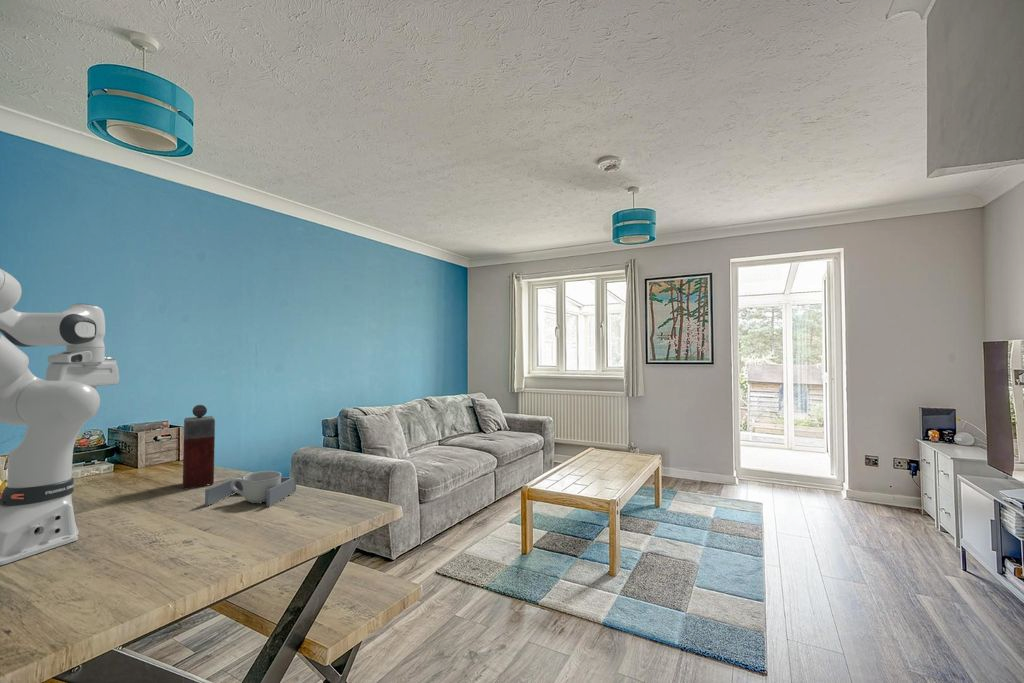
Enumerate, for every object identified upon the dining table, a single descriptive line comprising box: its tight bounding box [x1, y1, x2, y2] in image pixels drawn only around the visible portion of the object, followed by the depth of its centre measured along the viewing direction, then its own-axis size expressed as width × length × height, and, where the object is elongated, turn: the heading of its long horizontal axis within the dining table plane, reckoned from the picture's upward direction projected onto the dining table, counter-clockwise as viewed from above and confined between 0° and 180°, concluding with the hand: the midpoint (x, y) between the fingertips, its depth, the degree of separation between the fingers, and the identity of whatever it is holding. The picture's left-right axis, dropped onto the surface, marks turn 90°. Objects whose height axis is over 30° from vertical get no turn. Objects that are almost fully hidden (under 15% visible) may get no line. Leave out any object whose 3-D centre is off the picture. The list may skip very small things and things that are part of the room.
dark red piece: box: [182, 404, 216, 489], centre depth 164 cm, size 9×11×28 cm
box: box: [204, 476, 297, 507], centre depth 145 cm, size 15×20×5 cm
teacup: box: [230, 470, 282, 504], centre depth 143 cm, size 14×11×8 cm
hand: (84, 401), depth 142 cm, fingers closed
